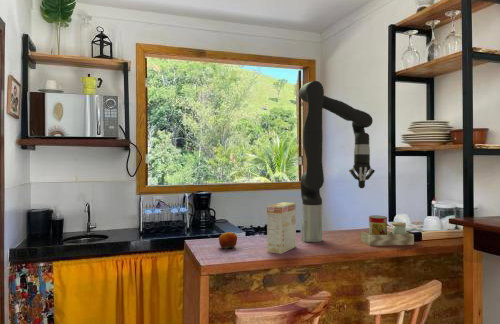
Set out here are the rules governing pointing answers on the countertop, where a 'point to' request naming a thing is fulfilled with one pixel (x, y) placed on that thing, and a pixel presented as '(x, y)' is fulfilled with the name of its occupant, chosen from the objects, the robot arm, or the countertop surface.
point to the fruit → (228, 240)
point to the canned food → (377, 225)
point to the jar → (399, 228)
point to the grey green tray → (388, 239)
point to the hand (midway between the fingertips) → (361, 188)
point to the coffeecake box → (281, 227)
